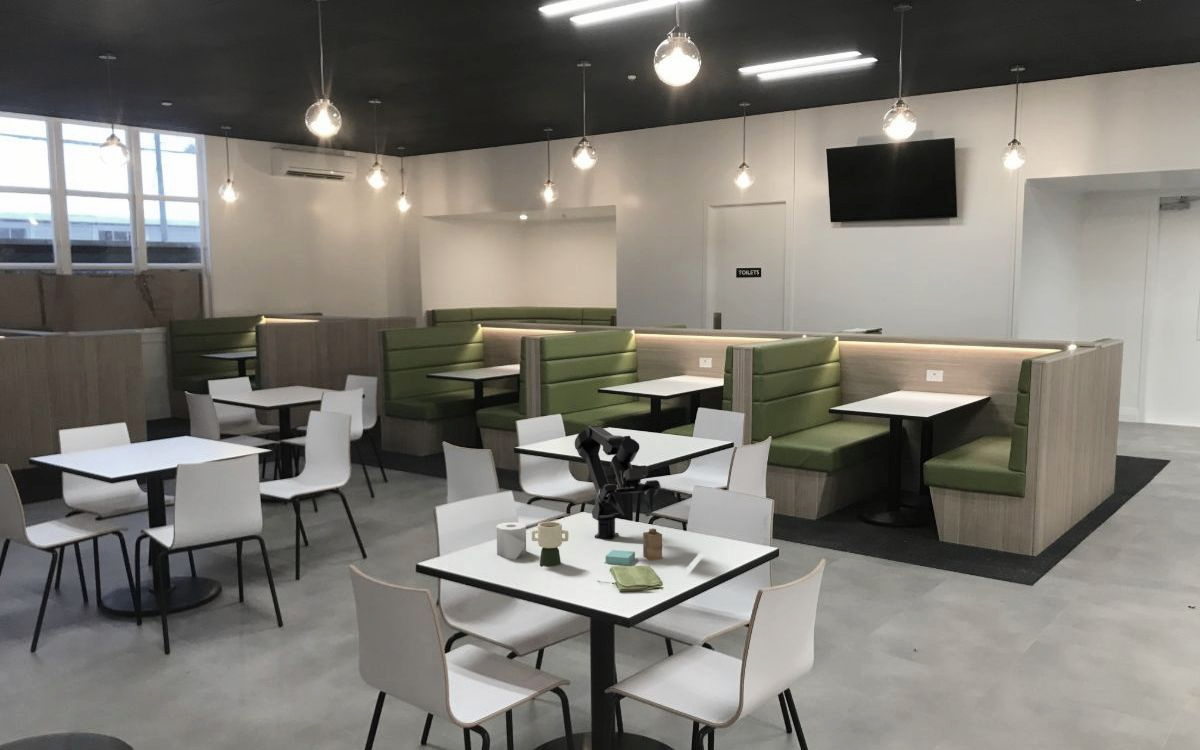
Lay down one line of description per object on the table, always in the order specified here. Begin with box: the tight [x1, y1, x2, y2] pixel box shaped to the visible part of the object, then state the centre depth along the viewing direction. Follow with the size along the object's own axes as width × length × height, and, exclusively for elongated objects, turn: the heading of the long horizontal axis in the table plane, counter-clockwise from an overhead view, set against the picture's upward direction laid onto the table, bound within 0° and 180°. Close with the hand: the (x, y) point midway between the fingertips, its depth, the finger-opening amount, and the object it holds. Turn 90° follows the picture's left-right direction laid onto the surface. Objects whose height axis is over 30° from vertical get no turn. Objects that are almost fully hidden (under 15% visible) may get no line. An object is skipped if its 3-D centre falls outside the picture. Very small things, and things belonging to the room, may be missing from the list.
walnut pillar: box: [642, 528, 663, 561], centre depth 273 cm, size 4×4×10 cm
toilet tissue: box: [496, 521, 527, 560], centre depth 283 cm, size 9×13×9 cm
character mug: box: [531, 521, 569, 568], centre depth 268 cm, size 11×7×13 cm, turn 86°
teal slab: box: [605, 549, 636, 566], centre depth 270 cm, size 7×7×2 cm
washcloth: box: [609, 565, 664, 593], centre depth 254 cm, size 13×18×3 cm
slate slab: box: [604, 557, 639, 566], centre depth 271 cm, size 8×8×2 cm
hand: (638, 513), depth 280 cm, fingers open, 9 cm apart
